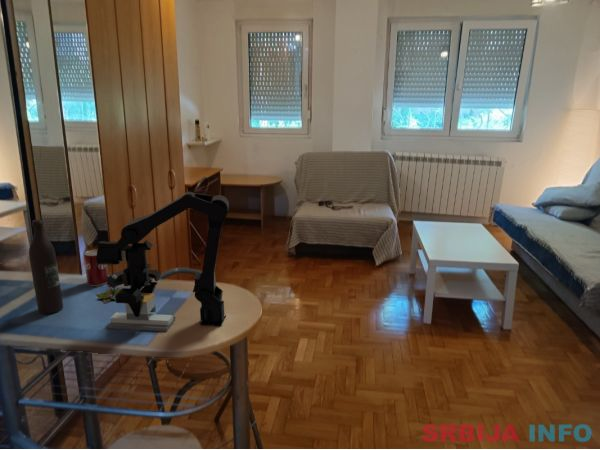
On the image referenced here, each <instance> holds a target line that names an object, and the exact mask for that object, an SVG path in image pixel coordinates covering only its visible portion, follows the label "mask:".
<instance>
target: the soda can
mask: <svg viewBox="0 0 600 450" xmlns="http://www.w3.org/2000/svg"><path fill="white" fill-rule="evenodd" d="M96 256H97V249H90V250H88V251H85V252H84V253H83V260H84V268H85V275H86V284H87V285H88V286H90V287H101V286H104V285H107V277H108V276H109V272H108V270H109V269H108V265H98V263H97V260H96Z"/></svg>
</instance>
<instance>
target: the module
mask: <svg viewBox="0 0 600 450" xmlns="http://www.w3.org/2000/svg"><path fill="white" fill-rule="evenodd" d="M141 294H142V296H144V300H143V304H142V308H141V312H140V315H139V317H135V315H134V313H133V311H132V309H131V308H130V306H129V304H128V303H124V305H125V313H126V315H127V319H128V320H149V314H150V313H156V312H157V311H156V310H157V307H156V298H155V292H153V293H141Z"/></svg>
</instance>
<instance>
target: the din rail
mask: <svg viewBox="0 0 600 450" xmlns="http://www.w3.org/2000/svg"><path fill="white" fill-rule="evenodd" d="M175 322H176V316H174V315H173V314H172V315H171V314H158V313H157V314H156V313H154V314H153V313H149V320H128V319H127V315H126V312H115V313H114V314H113V315H112V316H111V317H110V322H109V323H108V324H107V328H108V329H115V330H118V329H119V330H133V331H134V330H137V331H156V332H168V331H169V329H170V328H171V326H172V325H173V324H174V323H175Z"/></svg>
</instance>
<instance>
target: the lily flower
mask: <svg viewBox="0 0 600 450" xmlns="http://www.w3.org/2000/svg"><path fill="white" fill-rule="evenodd" d="M106 287H107V288H108V289H106V290H105V292H100V293H96V294H95V295H96V296H98V297H97V299H96V301H97V300H101V299H102V300H103V304H105V303H108V302H110V301H113V300H115V295H116V294H117V293H118V292H119V291H120V290H122V289H123V287H121V288H119V287H115V288H112V287H109V286H108V285H107V284H106Z"/></svg>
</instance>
